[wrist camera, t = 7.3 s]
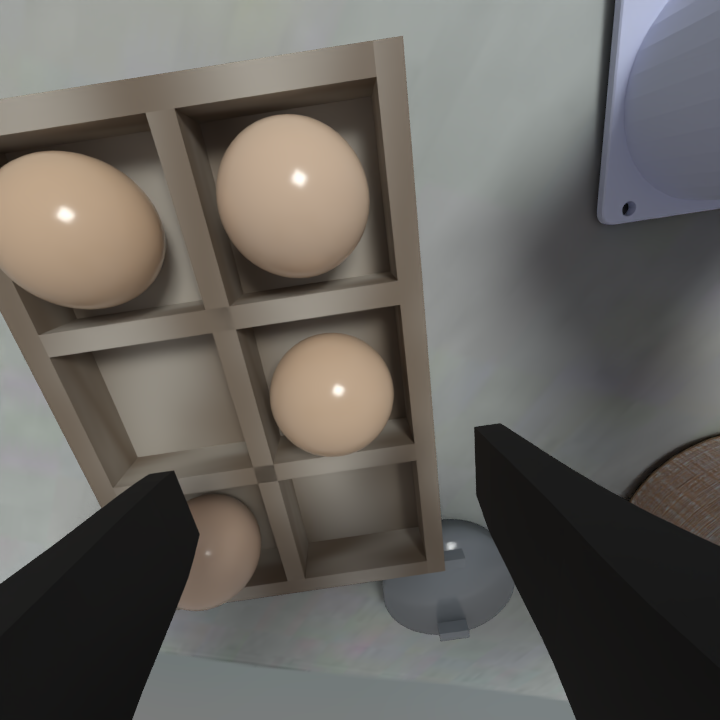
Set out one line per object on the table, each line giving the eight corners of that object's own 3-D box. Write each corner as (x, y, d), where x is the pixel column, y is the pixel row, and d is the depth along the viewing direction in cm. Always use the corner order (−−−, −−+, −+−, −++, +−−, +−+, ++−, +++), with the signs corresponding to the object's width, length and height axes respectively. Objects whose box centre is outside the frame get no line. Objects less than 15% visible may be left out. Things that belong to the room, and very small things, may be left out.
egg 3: (355, 120, 12) (362, 79, 8) (372, 257, 14) (385, 278, 10) (222, 141, 12) (165, 109, 8) (255, 275, 14) (221, 302, 10)
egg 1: (162, 150, 13) (77, 123, 8) (202, 283, 14) (146, 314, 10) (31, 171, 13) (-118, 153, 8) (86, 301, 14) (-17, 339, 10)
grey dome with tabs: (503, 510, 20) (520, 542, 18) (503, 599, 23) (518, 636, 21) (373, 529, 20) (377, 563, 18) (388, 616, 23) (392, 654, 21)
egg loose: (404, 342, 15) (427, 391, 11) (360, 429, 17) (367, 500, 13) (301, 300, 15) (287, 337, 11) (264, 395, 16) (239, 460, 12)
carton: (389, 72, 13) (402, 35, 10) (431, 521, 20) (445, 570, 18) (-6, 134, 13) (-101, 115, 10) (180, 557, 20) (155, 612, 18)
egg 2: (256, 466, 17) (231, 546, 13) (278, 538, 19) (261, 628, 15) (161, 480, 17) (107, 564, 13) (191, 550, 19) (150, 644, 15)
